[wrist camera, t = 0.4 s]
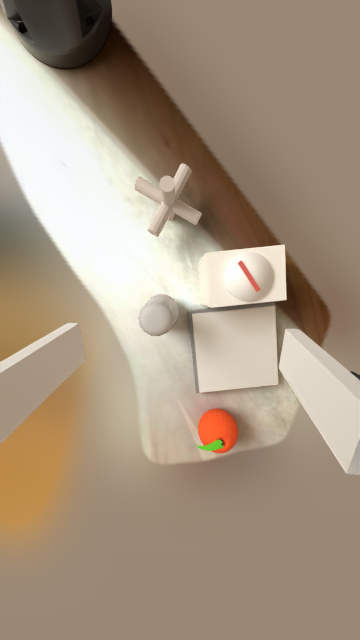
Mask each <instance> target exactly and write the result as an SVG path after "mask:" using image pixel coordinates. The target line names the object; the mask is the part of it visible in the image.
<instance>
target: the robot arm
mask: <svg viewBox="0 0 360 640" xmlns="http://www.w3.org/2000/svg"><path fill="white" fill-rule="evenodd" d="M0 5H1V7H2V10H3V12H4V14H5V16H6V18H7V20H8V22H9V24H10V25H11V27H12V29H13V30H14V32H15V33H16V35H17V37H18V38H19V40H20V41H21V43H22V44H23V46H24V47H25V48H26V49H27V50H28V51H29V52H30V53H31V54H32V55H33V56H34V57H35V58H37V59H38V60H40V61H41V62H43V63H45V64H47V65H50V66H53V67H57V68H73V67H77V66H80V65H82V64H85V63H86V62H88V61H90V60H91V59H92V58H93V57H94V56H96V55H97V53H98V52H99V51H100V50H101V48H102V47H103V45H104V43H105V42H106V39H107V37H108V34H109V31H110V27H111V20H112V6H111V0H0ZM84 361H85V354H84V348H83V343H82V338H81V332H80V327H79V323H67V324H65V325H64V326H62V327H60V328H58V329H57V330H55V331H53V332H51V333H50V334H48V335H46V336H45V337H43V338H41V339H39V340H38V341H36V342H34V343H32V344H31V345H29V346H27V347H26V348H24V349H22V350H20V351H19V352H17V353H15V354H13V355H12V356H10V357H8V358H7V359H5V360H3V361H1V362H0V444H1V443H2V442H3V441H4V440H5V439H6V438H7V437H8V436H9V435H10V434H11V433H12V432H13V431H14V430H15V429H16V428H17V427H18V426H19V425H20V424H21V423H22V422H23V421H24V420H25V419H26V418H27V417H28V416H29V415H30V414H31V413H32V412H33V411H34V410H35V409H36V408H37V407H38V406H39V405H40V404H41V403H42V402H43V401H44V400H45V399H47V398H48V397H49V395H51V393H52V392H54V391H55V390H56V389H57V387H59V385H61V384H62V383H63V382H64V381H65V380H66V379H67V378H68V377H69V376H70V375H71V374H72V373H73V372H74V371H75V370H76V369H77V368H78V367H79V366H80V365H81V364H82V363H83V362H84ZM279 370H280V371H281V373H282V374H283V376H284V377H285V379H286V380H287V382H288V384H289V385H290V387H291V388H292V390H293V391H294V393H295V394H296V396H297V398H298V399H299V401H300V402H301V404H302V405H303V407H304V408H305V410H306V412H307V413H308V415H309V416H310V418H311V419H312V421H313V422H314V424H315V426H316V427H317V429H318V430H319V432H320V433H321V435H322V437H323V438H324V440H325V441H326V443H327V444H328V446H329V447H330V449H331V451H332V452H333V454H334V455H335V457H336V458H337V460H338V461H339V463H340V464H341V466H342V468H343V469H344V471H345V472H346V474H358V475H360V375H358V374H356V373H354V372H349V371H348V370H347V369H345V368H344V367H343V366H342V365H341V364H340V363H338V362H337V361H336V360H335V359H334V358H333V357H331V356H330V355H329V354H328V353H327V352H325V351H324V350H323V349H322V348H321V347H319V346H318V345H317V344H316V343H315V342H314V341H312V340H311V339H310V338H309V337H308V336H306V335H305V334H304V333H303V332H302V331H300V330H299V329H285V335H284V340H283V346H282V352H281V357H280V363H279Z"/></svg>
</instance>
